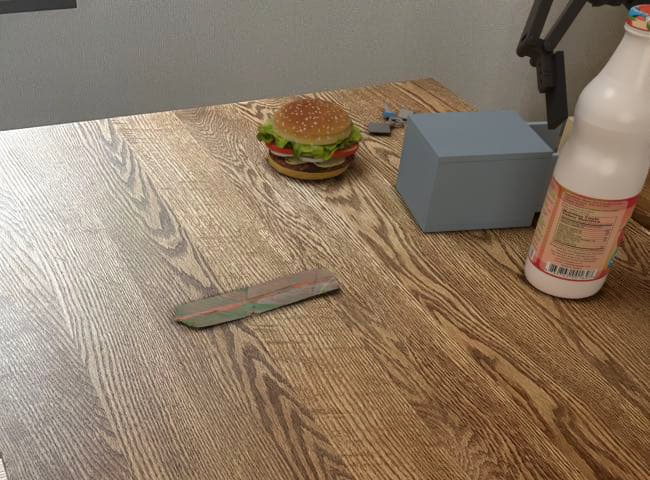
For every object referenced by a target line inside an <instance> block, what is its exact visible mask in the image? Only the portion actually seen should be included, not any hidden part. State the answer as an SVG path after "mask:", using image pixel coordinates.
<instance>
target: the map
mask: <svg viewBox="0 0 650 480" xmlns="http://www.w3.org/2000/svg"><path fill="white" fill-rule="evenodd" d="M339 285H340V283H339V281H338V280H337V275H335V273H334V272H331V270H330V269H329V268H322V269H321V268H320V267H316V268H311V269H308V270H305V271H300V272H295V273H291V274H287V275H284V276H281V277H276V278H273V279H271V280H266V281H264V282H260V283H257V284H254V285H249V286H246V287H242V288H239V289H236V290H232V291H229V292H228V291H227V292H225V293H222V294H218V295H215V296H211V297H207V298H203V299H199V300H195V301H192V302H187V303H183V304H177V305H175V309H176V310H175V311H174V313H175V315H174V317H173V320H174V321H176V322H181V323H183V324H185V325H187V326H188V327H192V328H203V327H208V326H213V325H218V324H222V323H226V322H231V321H236V320H239V319H244V318H246V317H250V316H251V315H252V313H254V314H257V315H259V314H261V313H264V312H267V311H271V310H274V309H277V308H280V307H282V306H283V307H284V306H286V305H290V304H293V303H296V302H299V301H301V300H304V299H307V298H311V297H314V296H317V295H320V294H324V293H327V292H331V291H333V290H336V289H340V288H339Z"/></svg>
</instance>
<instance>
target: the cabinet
mask: <svg viewBox="0 0 650 480" xmlns="http://www.w3.org/2000/svg"><path fill="white" fill-rule="evenodd" d="M406 121H407V122H405V129H404V135H403V141H402V147H401V153H400V158H399V164H398V169H397V170H398V171H397V176H396V182H395V188H396V190H397V192H398V193H399V195H400V197H401V198H402V200H403V202H404V203H405V205H406V206H407V208H408V209H409V211H410V213H411V214H412V216H413V218H414V220H415V222H416V223H417V224H418V226H419V228H420V229H421V231H422V232H423V233H439V232H455V231H471V230H474V231H475V230H490V229H505V228H506V229H507V228H522V227H524V228H525V227H532V223H533V220H534V217H535V213H536V212H535V211H536V207H537V204H538V201H539V198H540V194H541V191H542V188H543V185H544V181H545V178H546V175H547V172H548V168H549V165H550V162H551V159H552V155H553V150H552V149H551V148H550V147H549V146H548V145H547V144H546V143H545V142H544V141H543V140H542V139H541V138H540V137H539V135H538V134H537V133H536V132H535V131H534V130H533V129H532V128H531V127H530V126H529V125H528V124H527V123H526V122H527V121H526V120H524V118H523V117H522V116H521V115H520V114H519V113H518V112H517V111H516V110H515V109H501V110H500V109H499V110H478V111H476V110H475V111H447V112H446V111H445V112H423V113H419V112H418V113H413V114H408V117H407V119H406Z"/></svg>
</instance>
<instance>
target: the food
mask: <svg viewBox="0 0 650 480" xmlns="http://www.w3.org/2000/svg"><path fill="white" fill-rule="evenodd" d="M257 125H258V126H257V127H256V132H257V133H256V140H257V141H259V143H260V142H263V143H264V144H265V146H266V148H267V149H268V153H267V160H268V163H269V166H270V167H272V168H273V169H274V170H275V171H277V172H278V173H279V174H283V175H285V176H287V177H290V178H295V179H301V180H311V181H312V180H313V181H314V180H325V179H329V178H334V177H338V176H339V175H342V174H343V173H345V172H346V171H347V169H348V168H349V166H350V165H351V164H350V163H352V162H353V161H354V160H355V158H356V153H357V152H358V150H359V149H360V142H361V143H362V138H363V135H362V133H361V132H360V131H361V130H360V127H359V126H355V125H354V123H353V120H352V119H351V116H350V115H349V113H347V111H346V110H345V109H344V108H342V107H341V105H338V104H337V103H335V102H332V101H329V100H327V99H321V98H311V97H309V98H299V99H294V100H292V101H289V102H286V103H285V104H282V106H281V107H279V108H278V110H276V111H275V112H274V114H273V117H269V118H267V120H266V121H265V122H264V124H263V125H260V123H259V122H258V123H257Z"/></svg>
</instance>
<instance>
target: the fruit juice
mask: <svg viewBox="0 0 650 480" xmlns="http://www.w3.org/2000/svg"><path fill="white" fill-rule="evenodd" d="M623 27H624V30H625V32H624V35H623V37H622V39H621V41H620V43H619V44H618V46H617V47H616V49H615V50H614V52H613V53H612V55H611V57H610V58H609V59H608V61H607V63H606V64H605V65H604V67H602V69H601V70H600V72H599V73H598V74H597V75H596V76H595V77H594V78H592V80H591V81H589V82H588V83H587V85H586V86H584V88H583V89H582V91H581V92H580V94H579V96H578V98H577V101H576V103H575V106H574V110H573V116H574V119H573V131H572V134H571V136H570V137H569V139H568V140H567V141H566V142H565V144H564V146H563V147H562V150H561V152H560V154H559V157H558V160H557V162H556V165H555V168H554V172H553V175H552V179H551V182H550V185H549V188H548V191H547V195H546V198H545V201H544V204H543V207H542V210H541V212H540V214H539V217H538V220H537V224H536V227H535V230H534V232H533V237H532V240H531V242H530V246H529V249H528V253H527V255H526V259H525V263H524V271H523V272H524V276H525V279H526V280H527V281H528V283H529V284H531V286H533V287H534V288H536V289H537V290H538V291H540V292H543V293H544V294H547V295H550V296H553V297H557V298H561V299H572V300H573V299H583V298H588V297H591V296H594V295H595V294H597V293H598V292H599V291H600V290H601V288H603V285H604V284H605V282H606V280H607V278H608V275H609V273H610V270H611V267H612V265H613V262H614V260H615V258H616V255H617V253H618V250H619V247H620V246H621V243H622V240H623V237H624V235H625V233H626V230H627V227H628V225H629V222H630V220H631V218H632V215H633V212H634V210H635V207H636V206H637V203H638V199H639V197H640V194H641V192H642V190H643V188H644V186H645V183H646V180H647V177H648V174H649V170H650V5H637V6H634V7H632V8H631V9H630V11H628V12H627V16H626V18H625V22H624V26H623Z"/></svg>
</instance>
